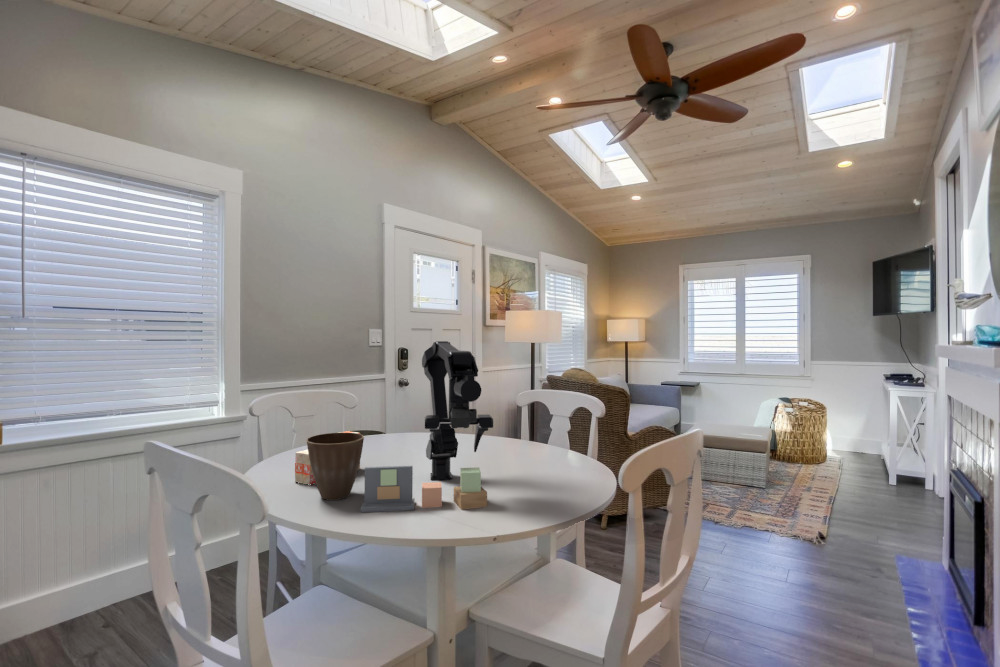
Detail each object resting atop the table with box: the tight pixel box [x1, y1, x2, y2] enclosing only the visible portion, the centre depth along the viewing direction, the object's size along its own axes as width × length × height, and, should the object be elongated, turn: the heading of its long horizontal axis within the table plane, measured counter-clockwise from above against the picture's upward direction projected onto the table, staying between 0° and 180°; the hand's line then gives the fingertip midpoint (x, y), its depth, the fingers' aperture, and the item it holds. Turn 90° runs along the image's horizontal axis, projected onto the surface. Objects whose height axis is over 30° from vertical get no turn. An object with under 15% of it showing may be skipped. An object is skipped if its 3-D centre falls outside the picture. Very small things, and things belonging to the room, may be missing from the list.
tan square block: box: [453, 486, 488, 510], centre depth 133 cm, size 7×7×4 cm
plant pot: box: [306, 432, 365, 501], centre depth 139 cm, size 15×15×16 cm
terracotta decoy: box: [421, 481, 443, 509], centre depth 132 cm, size 5×5×5 cm
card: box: [360, 465, 416, 513], centre depth 130 cm, size 6×13×10 cm, turn 98°
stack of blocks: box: [294, 430, 361, 486], centre depth 159 cm, size 21×6×12 cm, turn 153°
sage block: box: [460, 467, 482, 493], centre depth 133 cm, size 5×5×5 cm
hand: (458, 452), depth 141 cm, fingers open, 9 cm apart
